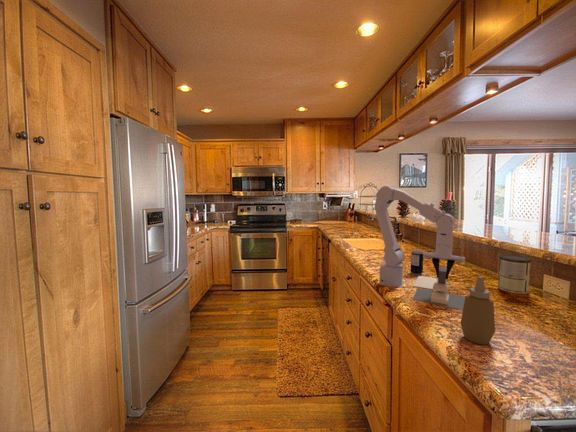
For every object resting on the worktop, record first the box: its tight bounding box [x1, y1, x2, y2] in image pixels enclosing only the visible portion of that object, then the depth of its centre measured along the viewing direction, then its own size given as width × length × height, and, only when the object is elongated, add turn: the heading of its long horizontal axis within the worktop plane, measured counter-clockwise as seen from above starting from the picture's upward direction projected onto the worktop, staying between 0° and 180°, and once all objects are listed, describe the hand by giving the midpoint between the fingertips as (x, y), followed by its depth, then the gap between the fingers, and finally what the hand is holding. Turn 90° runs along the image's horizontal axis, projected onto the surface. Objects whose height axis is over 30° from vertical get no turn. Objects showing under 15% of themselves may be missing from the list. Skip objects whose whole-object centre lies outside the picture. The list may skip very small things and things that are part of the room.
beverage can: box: [410, 249, 424, 276], centre depth 140 cm, size 6×6×12 cm
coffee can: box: [497, 254, 532, 295], centre depth 117 cm, size 10×10×14 cm
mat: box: [411, 287, 465, 311], centre depth 106 cm, size 19×15×1 cm
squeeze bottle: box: [460, 276, 496, 345], centre depth 77 cm, size 8×8×18 cm
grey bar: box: [432, 265, 450, 293], centre depth 110 cm, size 5×15×6 cm, turn 147°
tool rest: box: [412, 275, 438, 291], centre depth 124 cm, size 8×17×1 cm, turn 147°
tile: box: [431, 292, 449, 305], centre depth 104 cm, size 6×2×7 cm
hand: (442, 277), depth 111 cm, fingers closed on grey bar, 2 cm apart
